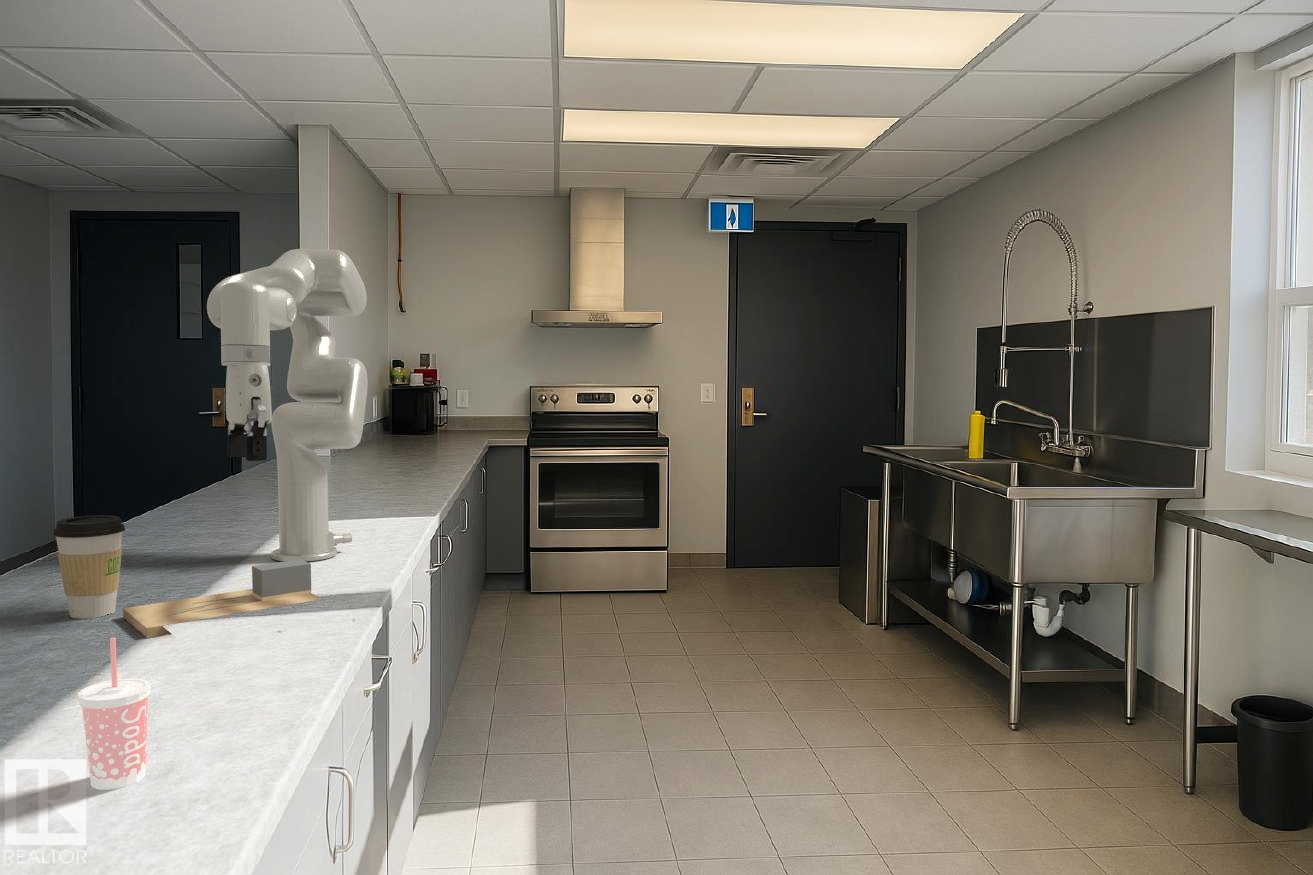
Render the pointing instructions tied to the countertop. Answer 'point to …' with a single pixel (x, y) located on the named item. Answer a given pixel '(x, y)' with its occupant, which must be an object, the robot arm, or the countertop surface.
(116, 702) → the beverage cup
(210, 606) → the board
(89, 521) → the coffee cup
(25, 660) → the countertop surface
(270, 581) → the block
